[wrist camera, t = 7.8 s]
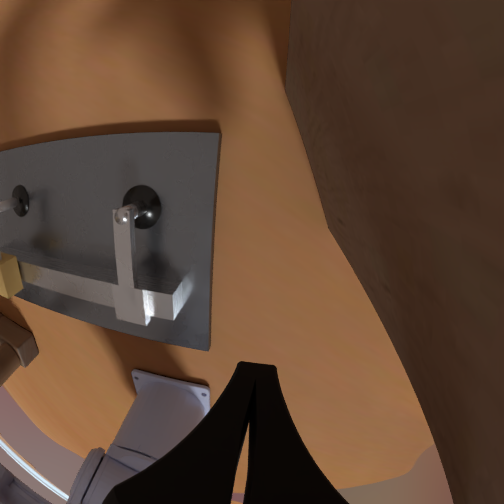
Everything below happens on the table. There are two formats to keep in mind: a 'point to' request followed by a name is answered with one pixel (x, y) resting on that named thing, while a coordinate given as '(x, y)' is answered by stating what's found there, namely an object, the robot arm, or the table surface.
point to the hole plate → (117, 230)
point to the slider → (9, 263)
